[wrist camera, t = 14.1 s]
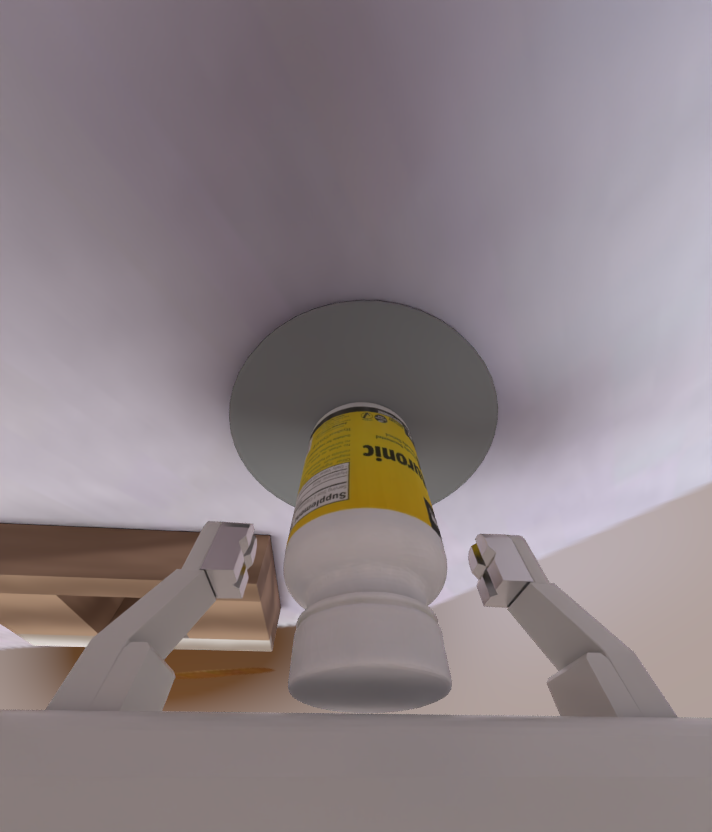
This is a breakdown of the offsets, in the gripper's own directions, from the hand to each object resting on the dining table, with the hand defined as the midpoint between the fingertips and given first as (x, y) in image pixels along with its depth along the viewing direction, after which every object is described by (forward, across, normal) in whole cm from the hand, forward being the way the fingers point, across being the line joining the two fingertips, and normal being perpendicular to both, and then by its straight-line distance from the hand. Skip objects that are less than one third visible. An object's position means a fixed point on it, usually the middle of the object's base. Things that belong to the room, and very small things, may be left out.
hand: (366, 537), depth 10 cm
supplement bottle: (+6, 0, 0) cm, 6 cm away
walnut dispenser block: (+6, +16, +16) cm, 23 cm away
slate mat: (+6, 0, 0) cm, 6 cm away
